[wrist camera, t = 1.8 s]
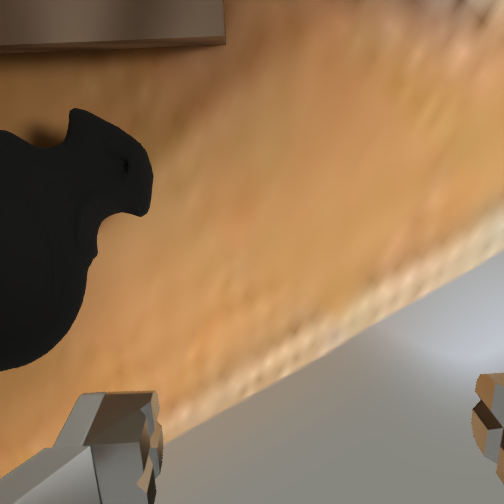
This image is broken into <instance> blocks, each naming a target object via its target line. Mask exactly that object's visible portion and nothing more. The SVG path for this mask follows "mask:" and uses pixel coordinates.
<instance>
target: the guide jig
mask: <svg viewBox="0 0 504 504" xmlns="http://www.w3.org/2000/svg"><path fill="white" fill-rule="evenodd" d="M204 45H226V35H225V16H224V1H223V0H0V54H14V53H38V52H62V51H86V50H109V49H133V48H157V47H180V46H204Z"/></svg>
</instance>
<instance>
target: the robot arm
mask: <svg viewBox="0 0 504 504" xmlns="http://www.w3.org/2000/svg"><path fill="white" fill-rule="evenodd" d="M475 392H476V393H477V394H478V396H479V398H480V399H481V400H480V402H479V403H478V404H477V405H476V406H475V407H474V408H473V410H472V421H471V424H472V430H473V436H474V438H475V441H476V443H477V446H478V447H479V449H480V450H481V452H482V453H483V455H484V456H485V457H487V458H489V459H490V460H492V461H493V462H495V463H497V470H496V474H497V475H498V477H499V478H500V480H501V481H502V482H503V484H504V373H493V374H480V376H479V378H478V379H477V382H476V388H475ZM159 408H160V407H159V401H158V394H157V392H156V391H123V392H108V393H107V392H96V393H84V394H82V395H80V396H79V398H78V400H77V402H76V403H75V405H74V407H73V409H72V411H71V413H70V415H69V417H68V419H67V421H66V423H65V424H64V426H63V428H62V430H61V432H60V434H59V436H58V438H57V440H56V442H55V444H54V445H53V447H52V448H44V449H43V450H41V451H40V452H39V453H37V454H36V455H34V456H33V457H31V458H30V459H28V460H27V461H26V462H24V463H23V464H21V465H20V466H18V467H17V468H15V469H14V470H12V471H11V472H10V473H8V474H7V475H5V476H4V477H2V478H1V479H0V504H154V502H155V497H156V484H155V478H156V477H157V476H159V475H160V472H161V466H162V459H163V432H162V426H161V425H160V424H159V423H158V422H157V417H158V413H159Z"/></svg>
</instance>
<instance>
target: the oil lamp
mask: <svg viewBox="0 0 504 504" xmlns="http://www.w3.org/2000/svg"><path fill="white" fill-rule="evenodd" d="M152 184H153V172H152V167H151V164H150V161H149V158H148V155H147V152H146V150H145V149H144V148H143V147H142V145H141V144H140V143H139V142H138V141H136V140H135V139H134V138H133V137H131V136H130V135H128V134H127V133H125V132H124V131H123V130H121V129H120V128H119V127H117V126H115V125H113V124H111V123H109V122H107V121H105V120H103V119H101V118H99V117H97V116H96V115H94V114H92V113H90V112H88V111H85V110H81V109H77V108H74V109H72V110H70V113H69V125H68V130H67V135H66V138H65V140H64V141H63V142H62V143H61V144H60V145H58V146H55V147H51V148H40V147H36V146H33V145H31V144H29V143H28V142H26V141H25V140H23V139H21V138H20V137H18V136H16V135H14V134H12V133H11V132H8V131H6V130H0V371H4V370H8V369H12V368H18V367H21V366H24V365H27V364H29V363H31V362H33V361H35V360H36V359H38V358H40V357H42V356H43V355H45V354H46V353H48V352H49V351H50V350H51V349H52V348H53V347H54V346H55V345H56V344H57V343H58V342H59V341H60V340H61V339H62V338H63V337H64V336H65V335H66V334H67V332H68V331H69V329H70V328H71V326H72V324H73V322H74V320H75V319H76V317H77V314H78V312H79V310H80V307H81V305H82V302H83V297H84V294H85V289H86V281H87V272H88V268H89V266H90V265H91V263H92V261H93V259H94V258H95V257H96V256H97V254H98V250H97V234H98V229H99V227H100V225H101V222H102V221H103V220H104V219H105V218H107V217H108V216H110V215H113V214H116V213H120V212H124V213H129V214H133V215H136V216H139V217H142V216H144V215H145V214H147V212H148V210H149V207H150V202H151V194H152Z"/></svg>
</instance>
